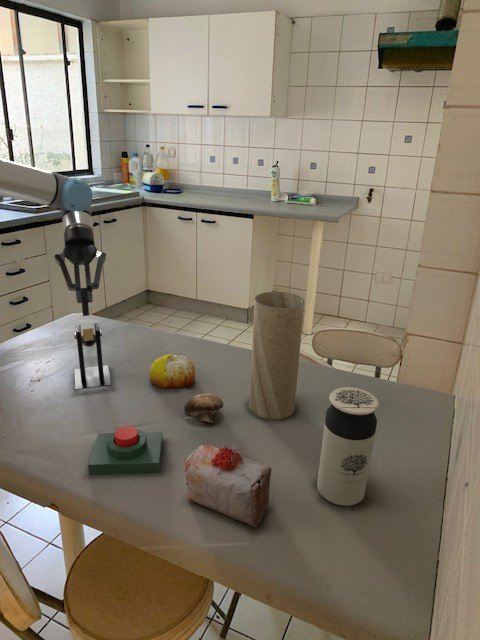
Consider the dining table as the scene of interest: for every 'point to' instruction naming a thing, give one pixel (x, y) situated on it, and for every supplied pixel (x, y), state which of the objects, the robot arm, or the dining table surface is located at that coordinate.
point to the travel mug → (347, 445)
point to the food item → (228, 483)
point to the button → (126, 436)
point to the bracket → (91, 375)
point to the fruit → (172, 372)
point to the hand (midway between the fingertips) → (85, 313)
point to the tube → (275, 353)
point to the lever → (88, 337)
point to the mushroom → (203, 406)
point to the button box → (126, 454)
